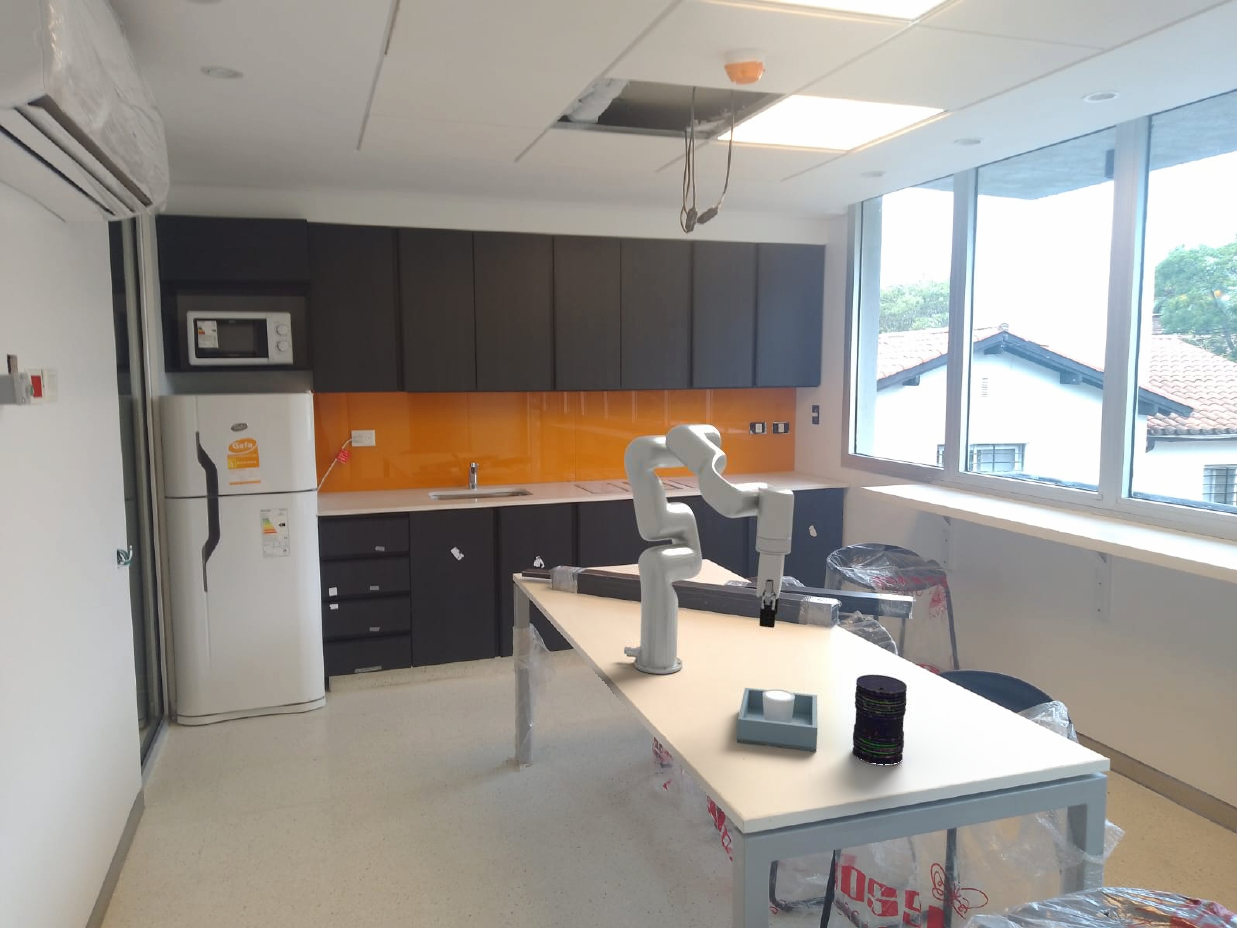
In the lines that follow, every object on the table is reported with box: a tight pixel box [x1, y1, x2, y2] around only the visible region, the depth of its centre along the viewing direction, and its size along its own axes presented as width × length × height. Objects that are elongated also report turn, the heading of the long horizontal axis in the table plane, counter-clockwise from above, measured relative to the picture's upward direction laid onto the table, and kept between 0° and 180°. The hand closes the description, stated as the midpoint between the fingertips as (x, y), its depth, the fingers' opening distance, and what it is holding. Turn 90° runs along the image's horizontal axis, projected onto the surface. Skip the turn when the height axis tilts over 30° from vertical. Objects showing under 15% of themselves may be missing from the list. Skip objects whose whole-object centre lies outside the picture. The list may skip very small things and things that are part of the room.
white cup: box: [763, 688, 795, 723], centre depth 178 cm, size 7×7×7 cm
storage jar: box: [852, 674, 908, 765], centre depth 167 cm, size 10×10×15 cm
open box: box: [736, 687, 818, 752], centre depth 179 cm, size 16×18×5 cm
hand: (768, 619), depth 184 cm, fingers open, 9 cm apart
